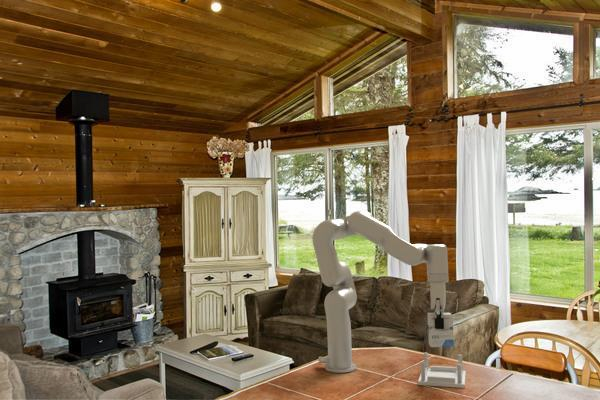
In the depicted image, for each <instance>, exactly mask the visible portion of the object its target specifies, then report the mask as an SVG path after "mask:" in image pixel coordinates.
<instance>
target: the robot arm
mask: <svg viewBox="0 0 600 400" xmlns="http://www.w3.org/2000/svg"><path fill="white" fill-rule="evenodd" d="M356 235H359V236H360V237H361V238H362V237H363V238H364V239H365V240H368V241H370V242H371V243H373V244H374V245H377V246H378V247H379V248H380V249H382V250H383V251H384V252H385V253H387V254H388V255H389V256H391V257H393V258H395V259H396V260H398V261H400V262H401V263H404V264H406V265H408V266H411V267H412V266H413V267H414V266H417V265H420V264H423V263H424V264H425V263H426V274H427V283H430V287H429V288H430V289H429V290H430V291H429V292H430V295H429V296H430V310H432V311H433V310H434V313H435V329H444V318H443V313H445V308H446V300H447V293H446V292H447V291H446V288H447V287H446V283H449V280H450V278H449V263H448V262H449V261H448V260H449V259H448V247H447V245H446V244H443V243H441V244H439V243H434V244H426V243H415V244H411V243H410V242H408V241H406V240H404V239H402V238H400V237H399V236H398V235H396V234H395V232H394V231H393V229H392V228H391V227H390V226H389V225H387V224H385V223H384V222H381V221H379V220H377V219H376V218H375V217H374V216H373V214H372V213H370V212H369V211H366V210H358V211H354V212H352V213H351V214H350V215H347V216H343V217H340V218H329V219H326V220H323V221H321V222H320V223H319V224H318V225H316V227H315V228H314V231H313V233H312V245H313V249H314V254H315V256H316V257H315V258H316V261H317V266H318V271H319V275H320V277H321V282H322V283H323V284H324V285H325V286H327V287H329V288H330V287H332V289H333V290H331V291H330V292H328V293H327V294H326V296H325V299H324V304H323V305H324V311H325V312H324V313H325V316H326V317H325V318H326V330H327V331H326V332H327V356H318V360H317V361H318V362H319V363H321V364H325V365H324V370H325V371H327V372H330V373H336V374H342V373H350V372H354V371H355V370H356V369H357V364H356V363H354V362H353V353H352V352H353V351H352V349H353V348H352V328H351V327H352V325H351V323H352V322H351V317H350V314H349V312H350V311H349V310H350V309H352V308H353V307H354V306H355V305H356V303H357V299H358V298H357V297H358V295H357V291H356V286H355V282H354V279H353V274H352V271H351V269H350V267H349V265H348V264H347V263H346V262H344V261H341V260H340V259H339V257H338V253H337V249H336V247H335V245H334V243H333V242H334V241H335V240H342V239H345V238H348V237H352V236H356Z"/></svg>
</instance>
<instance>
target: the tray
mask: <svg viewBox="0 0 600 400" xmlns="http://www.w3.org/2000/svg"><path fill="white" fill-rule="evenodd" d="M428 353H429V352H423V358H424V359H423V361H420V375H419V377H418V380H417V385H418V386H432V387H444V388H445V387H446V388H460V389H461V388H462V389H465V388H466V377H467V375H466V374H467V371H466V370H463V369H464V367H463V354H461V353H459V354H457V356H458V357H457V358H458V359H457V361H458V363H457V364H456V366H445V365H444V366H442V365H430V366H429V355H428ZM429 367H430V368H429Z"/></svg>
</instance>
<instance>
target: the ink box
mask: <svg viewBox="0 0 600 400" xmlns="http://www.w3.org/2000/svg"><path fill="white" fill-rule="evenodd" d="M443 318H444V329H435V312H427V334H428V336H427V337H428V338H427V339H428V345H429V347H430V348H450V347H451V348H452V347H455V342H454V319H453V314H452V313H451V312H444V313H443Z"/></svg>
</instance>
